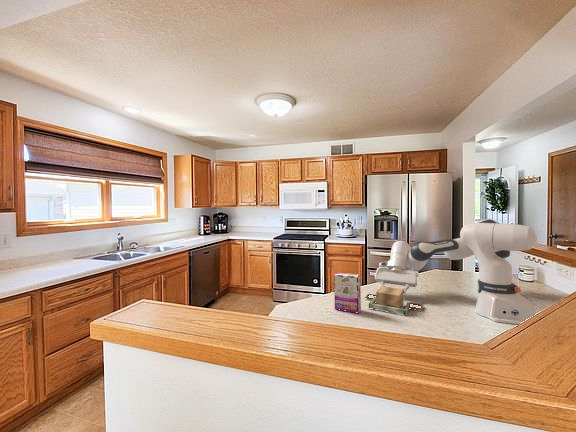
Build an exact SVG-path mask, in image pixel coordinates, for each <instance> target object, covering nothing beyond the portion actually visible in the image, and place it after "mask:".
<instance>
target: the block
mask: <svg viewBox="0 0 576 432" xmlns="http://www.w3.org/2000/svg"><path fill="white" fill-rule="evenodd" d="M375 295H376V304H378V305H383V306H389V307H395V308H400V309H401V308H402V307H403V308H404V306H405V305H404V304H405V303H404V302H405V301H404V296H405V294H404V288H397V287H396V288H395V287H390V286H389V287H388V286H386V287H383V286H382V285H381V286H380V287H379V289H378V290H376V293H375ZM403 305H404V306H403ZM403 308H402V309H403Z"/></svg>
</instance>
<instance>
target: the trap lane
mask: <svg viewBox="0 0 576 432" xmlns="http://www.w3.org/2000/svg"><path fill="white" fill-rule="evenodd" d="M369 295H373V296H376V294H372V293H368V294H366V296H365V297H364V299H365V298H367V299H372V300H370V302H369V303H368V309H369V308H373V309H378V310H383V311H388V312H393V313H398V314H403V315H406V314H407V315H408V313H409V311H408V310H410V309H409V308H411V309H416V310H423V308H422V307H424V304H421V303H415V302H410V301H409V302H408V301H407V303H406V304H405V305H404V307H403V308H402V309H400V308H395V307H389V306H383V305H378V304H375V302H376V297H374V298H369V297H368V296H369ZM410 304H413V305H418V306H421V308H416V307H410ZM416 310H415V311H416ZM407 312H408V313H407ZM398 314H397V315H398ZM403 315H402V316H403ZM407 315H406V316H407Z"/></svg>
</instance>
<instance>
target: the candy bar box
mask: <svg viewBox="0 0 576 432" xmlns="http://www.w3.org/2000/svg"><path fill="white" fill-rule="evenodd" d="M333 285H334V287H333V289H334V310H335V309H340V310H346V311H352V312H351V313H353V312H358V313H357V314H359V313H360V312H361V309H362V304H361V303H362V295H361V293H362V292H361V291H362V290H361V274H358V273H357V274H355V273H347V272H346V273H345V272H336V273H335V274H334V275H333ZM340 310H339V311H340ZM346 311H345V312H346ZM359 311H360V312H359Z"/></svg>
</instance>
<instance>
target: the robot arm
mask: <svg viewBox="0 0 576 432" xmlns="http://www.w3.org/2000/svg"><path fill="white" fill-rule="evenodd" d="M459 236H460V237H457V238H453V239H452V238H451V239H447V238H446V239H441V240H434V241H433V240H432V241H425V240H424V241H421V240H419V241H416V242H414V243H412V246H410V245H409V243H408V242H407V241H406V240H397V241H395V242H394V243H393V244H392V246H391V250H390V255H389V256H390V257H389V260H388V261H381V262H379V264H378V266H379V267H377V269H376V270H375V274H374V280H375V282H376V283H379V284H380V283H381V286H383V287H387V286H386V285H385V284H388V285H395V286H403V287H404V288H403V289H404V295H405V294H407V291H408V290H409V288H410V287H411V288H416V287H417V286H418V277H419V274H420V273H419V271H420V270H422V269H423V268H424V267H425V266H426V265H427V263H428V261H430V259H431V258H432V257H433V256H434V255H436V254H441V253H443V254H444V255H445V257H446V258H448V259H450V260H452V261H458V260H462V259H466V258H469V257H472V256H474V255H475V257H476V260H477V263H478V276H479V277H478V280H477V285H476V286H477V293H478V294H477V299H476V304H475V306H474V309H473V311H474V312H475V313H476V314H477V315H480V316H482V317H483V318H487V319H489V320H490V321H493V322H495V323H503V324H512V325H519V324H520V323H521V322H523V321H525V320H526V319H528V318H530V317H532V316H534V315H535V314H537V311H536V308H535V306H534V304H533V303H532V302H531V301H530V300H528V299H526V298H525V297H524V296H523V295H521V294H520V293H521V291H522V288H521V287H519V286H518V285H517V284H516V283H514V282H513V281H512V278H513V275H512V274H513V271H512V270H513V266H512V264H511V263H510V262H509V261H507V260H506V259H508V258H509V257H510V256H511V252H522V251H524V252H525V251H530V250H532V249H533V248H534V246H536V244H537V240H538V236H537V234H536V231H535V230H534V229H533V227H531V226H529V225H523V224H517V223H501V222H497V221H496V220H493V219H490V218H489V219H485V218H484V219H481V220H478V221H477V222H473V223H472V222H471V223H466V224H464V225H463V227H461V229H460V232H459Z"/></svg>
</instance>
